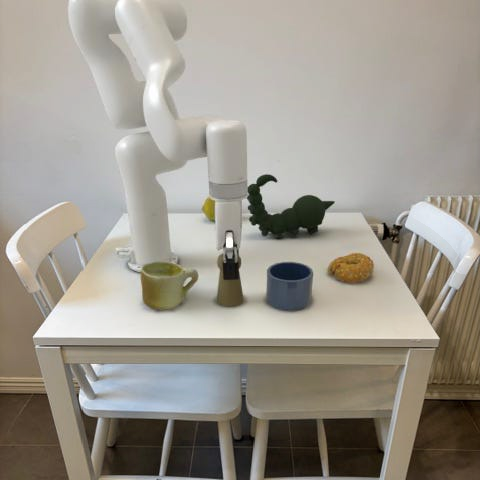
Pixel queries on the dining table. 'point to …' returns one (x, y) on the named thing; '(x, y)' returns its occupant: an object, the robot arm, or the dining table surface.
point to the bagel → (352, 267)
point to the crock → (289, 286)
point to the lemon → (209, 208)
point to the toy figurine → (285, 212)
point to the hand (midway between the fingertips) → (231, 269)
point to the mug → (165, 284)
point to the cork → (229, 287)
